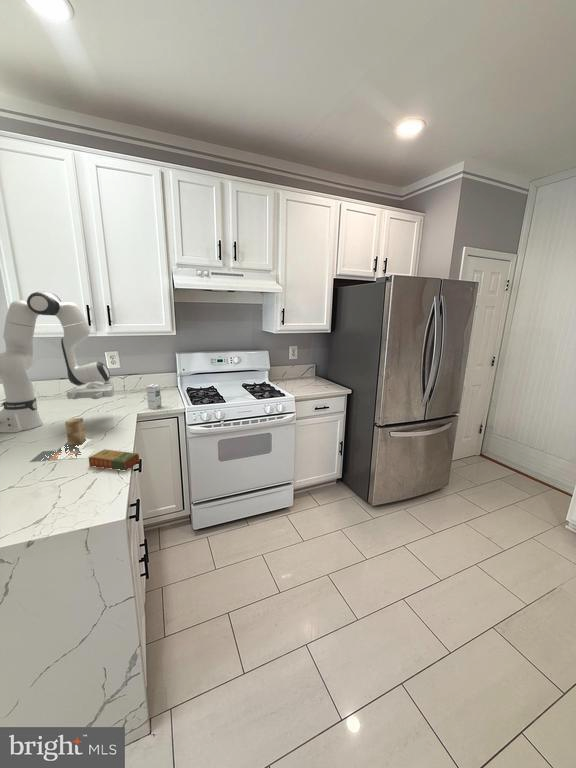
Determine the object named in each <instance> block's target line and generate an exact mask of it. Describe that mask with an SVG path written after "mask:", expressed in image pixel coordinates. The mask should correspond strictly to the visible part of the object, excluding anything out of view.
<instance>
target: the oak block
mask: <svg viewBox="0 0 576 768" xmlns="http://www.w3.org/2000/svg"><path fill="white" fill-rule="evenodd" d="M64 423H65V429H66V437H67V442H68V445H69V446H74V445H82V444H83V443H84V442H85V441H86V439H85V438H86V434H85V426H84V425H85V424H84V419H83V417H79V418H69V419H67V421H65V422H64Z"/></svg>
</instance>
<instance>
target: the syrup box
mask: <svg viewBox="0 0 576 768" xmlns="http://www.w3.org/2000/svg"><path fill="white" fill-rule="evenodd" d="M145 388H146V399H147V409H149V408H151V410H157V409H159V408H161V407H162V399H161V398H162V395H161V386H160V384H157V383H156V384H155V383H151V384H150V385H146V386H145Z"/></svg>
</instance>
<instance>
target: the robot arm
mask: <svg viewBox="0 0 576 768" xmlns="http://www.w3.org/2000/svg"><path fill="white" fill-rule="evenodd" d="M40 315H41V316H54V317H57V319H58V320H59V322H60V325H61V326H62V330H63V337H62V338H61V340H60V345H61V349H62V353H63V354H62V355H63V358H64V362H65V366H66V371H67V379H68V381H69V382H70V383H71V384H73V385H75V386H78V387H80V386H83V385H86V384H87V385H86V386H85V388H74V389H71V390H68V391H67V392H66V398H67V399H68V400H78V399H93V400H98V399H104V398H112V397H113V396H115V389H114V383H113V379H111V374H110V369H109V368H108V366H106V364H104V363H103V362H100V361H96V362H95V361H94V362H91V363H88V364H84V365H78V362H77V358H76V354H75V349H76V347H78V345H79V344H81V343H82V342H83V341H85V340H86V339H88V337H89V334H90V327H89V324H88V323H89V322H88V321H87V319H86V317H85V315H84V313H83V312H82V310H81V308H80V307H79V305H78V304H76V303H75V302H71V301H64V302H62V300H61V299H60V298H59V297H58V296H57V295H56V294H55V293H53V292H52V293H51V292H48V291H35V292H33V293H31V294H30V295H29V296H27V299H26V300H23V299H22V300H21V299H19V300H18V299H17V300H14V301H12V302H10V304H9V307H8V309H7V313H6V316H5V322H4V328H3V337H2V338H3V339H4V341H5V343H4V344H5V352H1V353H0V382H1V383H2V386H3V390H4V394H5V395H4V396H5V400H4V401H3V402H2V403H1V404H0V407H3V408H2V409H1V410H0V433H12V434H13V433H19V432H22V431H27V430H30V429H31V430H32V429H36V428H38V427H41V426H42V425H43V424H44V422H43V421H42V419H41V417H40V414H39V411H38V403H37V398H36V397H35V392H34V391H35V390H34V386H33V383H32V381H31V380H30V378H29V376H28V373H27V370H28V369H30V368H31V367H32V366H33V365H34V362H35V356H34V345H33V341H34V334H35V328H36V322H37V318H38V317H39V316H40ZM88 383H89V384H88Z"/></svg>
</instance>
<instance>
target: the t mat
mask: <svg viewBox="0 0 576 768" xmlns="http://www.w3.org/2000/svg"><path fill="white" fill-rule="evenodd" d="M64 444H65V445H64ZM64 444H63V445H64V446H65V447H66V448H65V447H64V448H65V453H66V454H67V453H68V452H69V451H70V453H73V454H75V456H76V457H77V455H81V454H78V453H81V452H80V451H79V448H77V447H75V446H76V445H74V446H69V445H68V441H66V442H65V443H64ZM67 445H68V446H67ZM77 446H79V445H77ZM67 447H69V448H67ZM68 449H69V451H68V452H66V451H67V450H68ZM73 449H75V451H73ZM54 451H55V452H54ZM61 451H62V450H61V447H59V448H58V449H57V452H56V450H45V451H41V452H40V453H38V454H37V455H36V456H35V457H33V458H32V459H31V460H30V461H29V463H35V462H37V461H38V462H49V461H50V460H52V461H59V460H58V459H57V458H58V456H57V455H61V454H59V453H62V452H61ZM54 453H55V454H54ZM70 453H69V454H70ZM51 454H52V455H54V456H52V455H51ZM69 454H68V455H69ZM73 454H70V455H73ZM45 455H46V456H47V457H48V456H49V458H47V457H46V456H45ZM56 456H57V457H56ZM71 457H72V456H71ZM71 457H70V458H71ZM43 458H44V459H43ZM42 459H43V460H42ZM41 460H42V461H41ZM46 460H48V461H46ZM75 460H78V459H77V458H76V459H75Z"/></svg>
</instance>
